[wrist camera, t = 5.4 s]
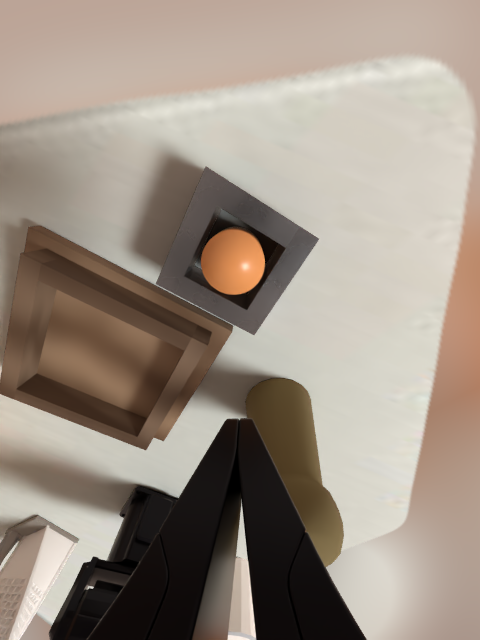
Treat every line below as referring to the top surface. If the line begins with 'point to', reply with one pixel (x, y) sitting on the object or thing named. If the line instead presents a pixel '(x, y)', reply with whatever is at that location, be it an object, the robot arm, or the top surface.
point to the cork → (297, 458)
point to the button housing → (194, 233)
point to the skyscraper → (29, 571)
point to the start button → (233, 261)
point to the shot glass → (241, 604)
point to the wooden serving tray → (103, 343)
